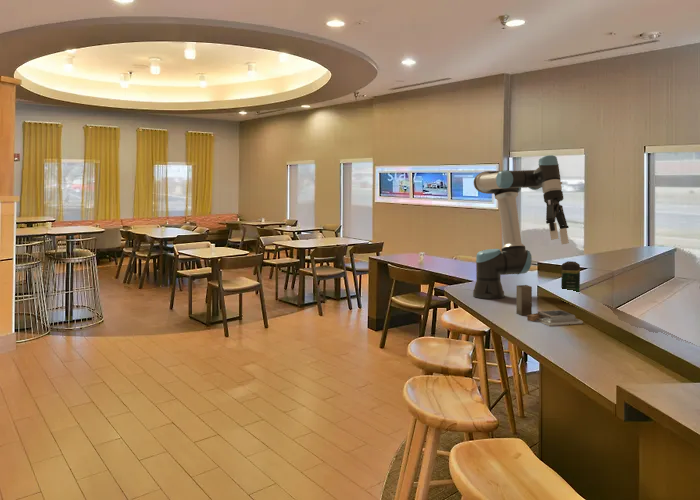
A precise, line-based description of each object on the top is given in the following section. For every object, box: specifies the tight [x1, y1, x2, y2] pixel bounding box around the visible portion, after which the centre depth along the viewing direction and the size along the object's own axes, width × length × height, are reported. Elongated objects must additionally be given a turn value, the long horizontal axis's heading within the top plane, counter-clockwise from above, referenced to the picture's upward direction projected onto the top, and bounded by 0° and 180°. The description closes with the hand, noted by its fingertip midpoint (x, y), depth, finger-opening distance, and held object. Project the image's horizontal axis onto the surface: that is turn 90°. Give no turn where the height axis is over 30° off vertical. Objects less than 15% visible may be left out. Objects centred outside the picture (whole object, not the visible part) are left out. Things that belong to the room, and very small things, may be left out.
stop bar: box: [515, 284, 533, 317], centre depth 213 cm, size 4×4×12 cm
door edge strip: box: [526, 312, 540, 322], centre depth 207 cm, size 2×16×2 cm, turn 120°
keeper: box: [536, 309, 584, 327], centre depth 201 cm, size 14×14×3 cm
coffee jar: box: [560, 260, 581, 292], centre depth 236 cm, size 10×8×19 cm
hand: (560, 241), depth 208 cm, fingers open, 13 cm apart
